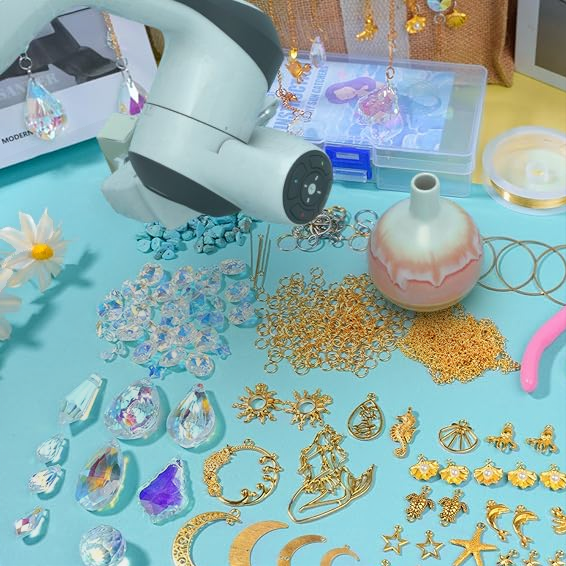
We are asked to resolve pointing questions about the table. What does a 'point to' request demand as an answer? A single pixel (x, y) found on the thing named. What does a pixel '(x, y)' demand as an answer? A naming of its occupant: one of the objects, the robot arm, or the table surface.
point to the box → (116, 136)
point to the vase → (425, 250)
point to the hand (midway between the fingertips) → (152, 137)
